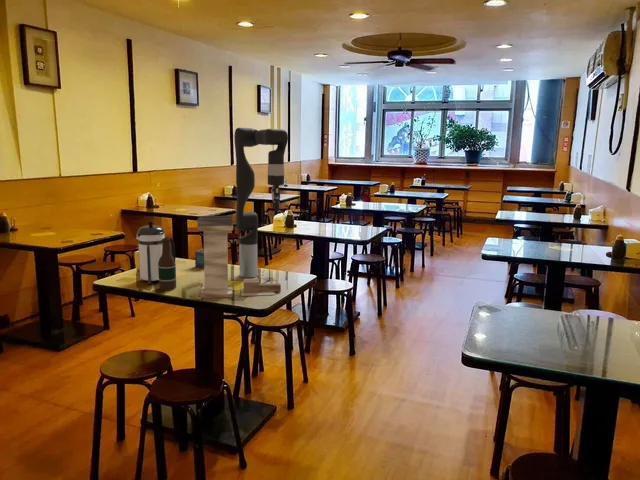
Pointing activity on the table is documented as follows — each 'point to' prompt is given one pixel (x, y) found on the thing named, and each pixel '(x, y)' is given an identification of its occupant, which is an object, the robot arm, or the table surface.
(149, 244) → the coffee press
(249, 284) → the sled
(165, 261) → the beer bottle
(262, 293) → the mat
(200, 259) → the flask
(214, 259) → the pedestal
